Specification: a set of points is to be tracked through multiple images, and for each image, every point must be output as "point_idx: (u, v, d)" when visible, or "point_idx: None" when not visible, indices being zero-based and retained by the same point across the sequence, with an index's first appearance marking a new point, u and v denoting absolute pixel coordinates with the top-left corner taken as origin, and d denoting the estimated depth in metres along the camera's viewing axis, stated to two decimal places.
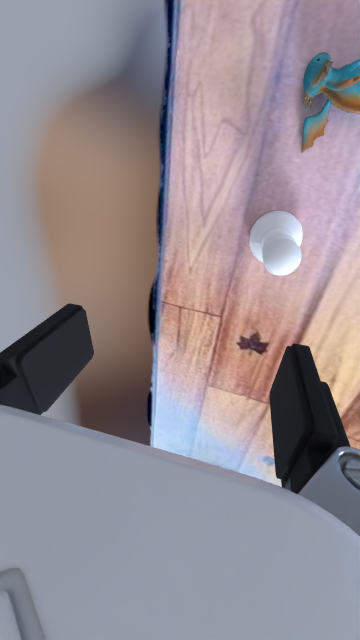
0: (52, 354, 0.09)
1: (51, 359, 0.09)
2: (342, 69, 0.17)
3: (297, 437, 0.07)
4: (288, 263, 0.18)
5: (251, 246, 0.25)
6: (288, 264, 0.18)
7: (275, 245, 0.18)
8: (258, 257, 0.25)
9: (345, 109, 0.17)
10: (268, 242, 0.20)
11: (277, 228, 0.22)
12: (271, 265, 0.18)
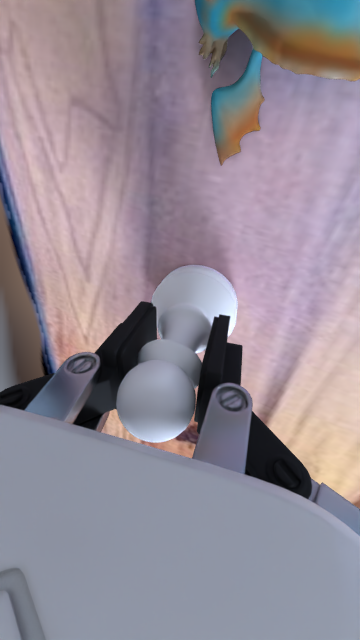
0: (137, 349, 0.10)
1: (136, 354, 0.10)
2: None
3: None
4: (154, 435, 0.07)
5: None
6: (155, 435, 0.07)
7: (128, 386, 0.08)
8: None
9: (290, 65, 0.07)
10: (143, 352, 0.10)
11: (180, 308, 0.11)
12: None
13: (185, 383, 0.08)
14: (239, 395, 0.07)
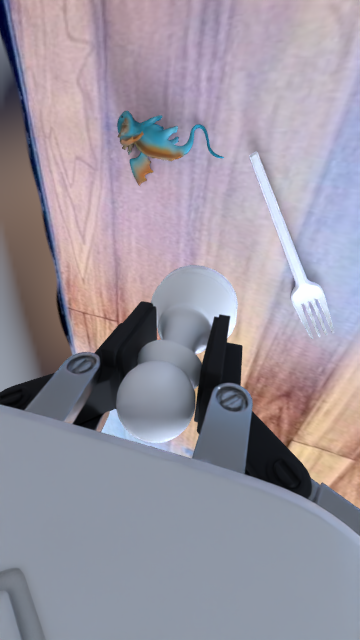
0: (137, 349, 0.10)
1: (136, 354, 0.10)
2: (139, 125, 0.21)
3: None
4: (154, 436, 0.07)
5: None
6: (155, 436, 0.07)
7: (127, 386, 0.08)
8: None
9: (149, 155, 0.21)
10: (142, 353, 0.10)
11: (180, 309, 0.11)
12: None
13: (185, 384, 0.08)
14: (239, 395, 0.07)
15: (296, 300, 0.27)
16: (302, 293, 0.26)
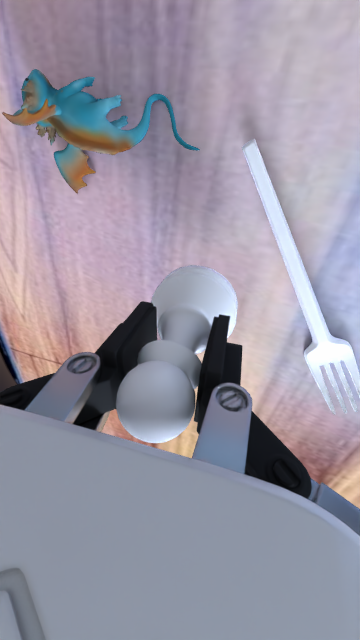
0: (137, 349, 0.10)
1: (136, 354, 0.10)
2: (56, 93, 0.12)
3: (199, 380, 0.08)
4: (154, 436, 0.07)
5: None
6: (155, 436, 0.07)
7: (127, 386, 0.08)
8: None
9: (77, 146, 0.13)
10: (142, 353, 0.10)
11: (180, 309, 0.11)
12: None
13: (185, 384, 0.08)
14: (239, 395, 0.07)
15: (312, 359, 0.18)
16: (322, 352, 0.18)
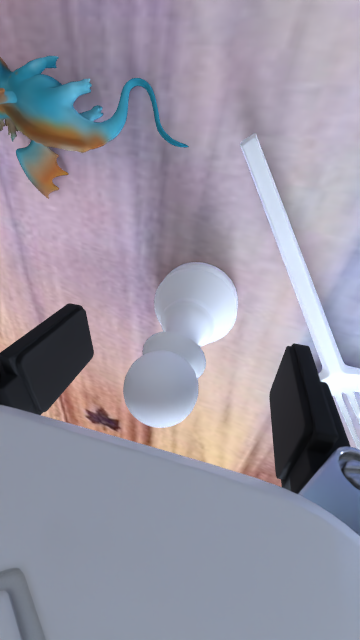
0: (52, 354, 0.09)
1: (51, 359, 0.09)
2: (10, 76, 0.10)
3: (297, 437, 0.07)
4: (160, 420, 0.08)
5: (158, 318, 0.15)
6: (160, 420, 0.08)
7: (134, 374, 0.08)
8: None
9: (39, 142, 0.11)
10: (147, 344, 0.10)
11: (182, 303, 0.12)
12: None
13: (188, 371, 0.08)
14: None
15: None
16: (333, 382, 0.15)
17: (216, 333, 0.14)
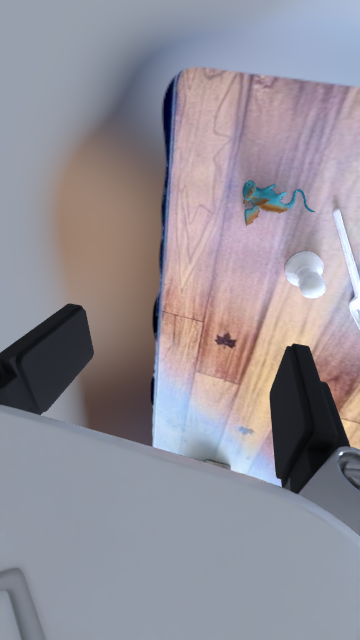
0: (52, 354, 0.09)
1: (51, 359, 0.09)
2: (261, 190, 0.31)
3: (297, 437, 0.07)
4: (318, 292, 0.29)
5: (287, 274, 0.36)
6: (318, 292, 0.29)
7: (310, 280, 0.29)
8: (291, 282, 0.36)
9: (264, 209, 0.31)
10: (303, 276, 0.31)
11: (307, 265, 0.33)
12: (307, 292, 0.29)
13: None
14: None
15: (353, 306, 0.37)
16: (359, 302, 0.36)
17: None
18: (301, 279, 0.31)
